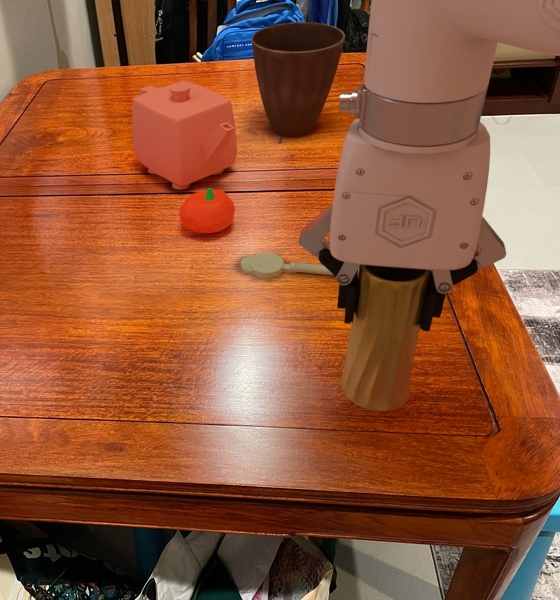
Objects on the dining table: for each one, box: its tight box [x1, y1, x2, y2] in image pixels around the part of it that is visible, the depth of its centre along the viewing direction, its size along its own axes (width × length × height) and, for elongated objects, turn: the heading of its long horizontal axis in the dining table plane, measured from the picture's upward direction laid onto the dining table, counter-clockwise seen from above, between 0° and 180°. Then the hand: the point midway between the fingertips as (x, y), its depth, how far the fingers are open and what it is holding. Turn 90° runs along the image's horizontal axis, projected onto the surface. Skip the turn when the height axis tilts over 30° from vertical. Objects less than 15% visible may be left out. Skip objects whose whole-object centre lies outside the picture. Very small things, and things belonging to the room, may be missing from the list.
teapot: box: [131, 80, 238, 190], centre depth 97 cm, size 22×13×14 cm, turn 35°
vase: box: [340, 265, 431, 412], centre depth 53 cm, size 6×6×14 cm
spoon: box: [240, 252, 359, 279], centre depth 78 cm, size 19×4×1 cm, turn 74°
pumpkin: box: [179, 187, 236, 234], centre depth 86 cm, size 7×8×6 cm
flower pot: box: [251, 21, 346, 138], centre depth 106 cm, size 15×15×16 cm
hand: (386, 315), depth 52 cm, fingers closed on vase, 5 cm apart
